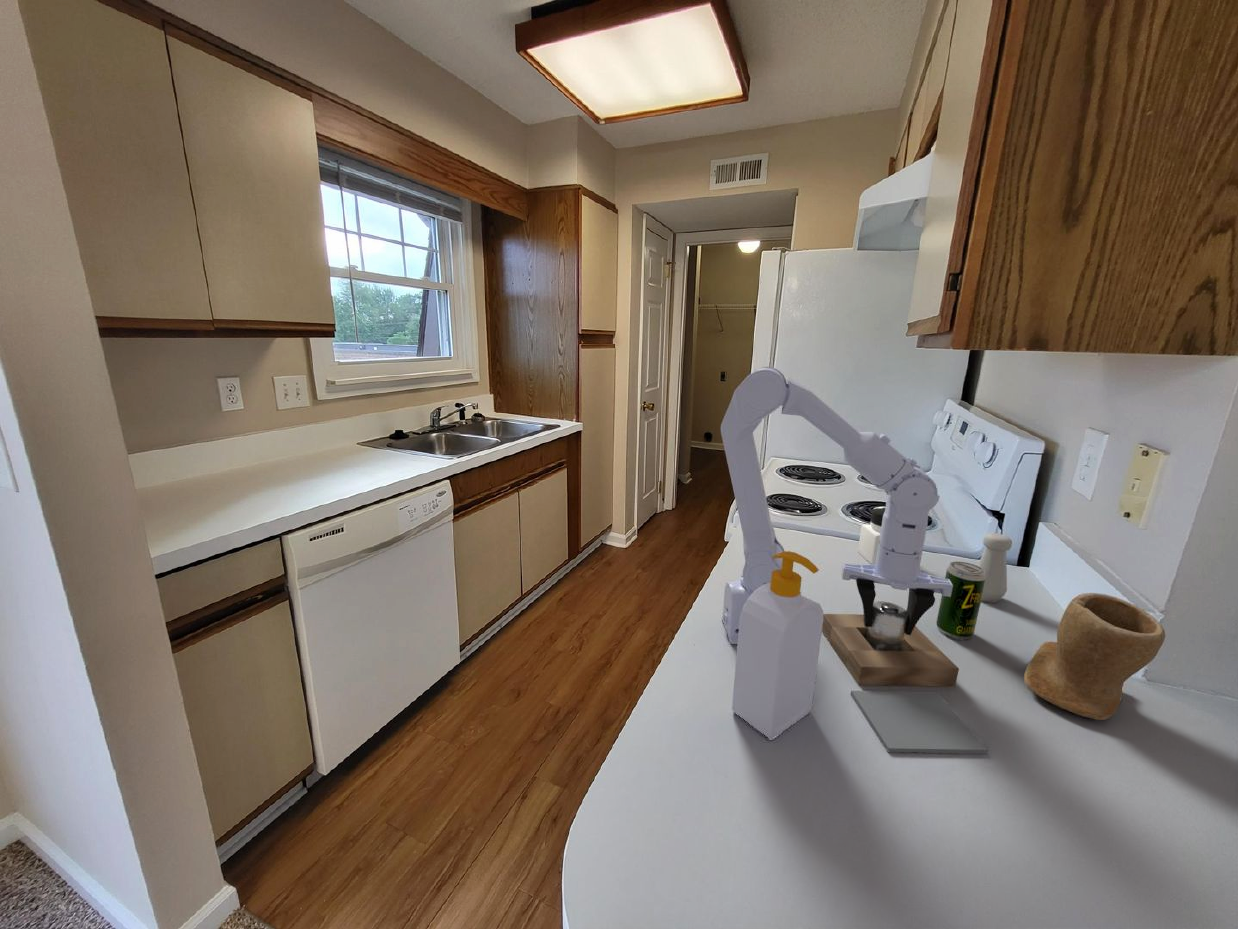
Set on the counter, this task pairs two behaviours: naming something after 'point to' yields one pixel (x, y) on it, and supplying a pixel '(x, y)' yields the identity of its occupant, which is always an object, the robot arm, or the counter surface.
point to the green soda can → (961, 600)
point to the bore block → (887, 656)
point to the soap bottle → (777, 651)
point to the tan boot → (1094, 655)
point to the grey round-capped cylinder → (887, 627)
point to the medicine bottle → (871, 536)
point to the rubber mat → (916, 723)
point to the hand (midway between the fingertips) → (886, 627)
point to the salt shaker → (995, 566)
